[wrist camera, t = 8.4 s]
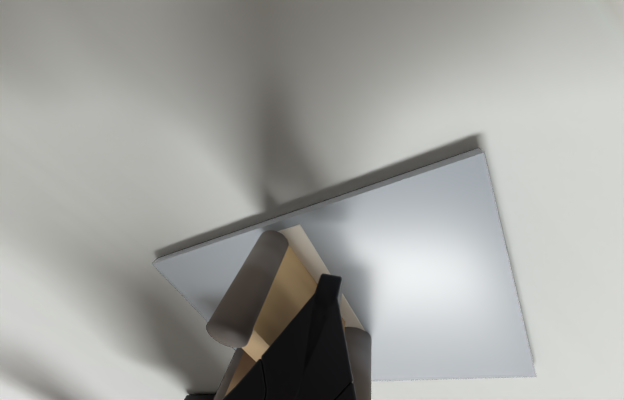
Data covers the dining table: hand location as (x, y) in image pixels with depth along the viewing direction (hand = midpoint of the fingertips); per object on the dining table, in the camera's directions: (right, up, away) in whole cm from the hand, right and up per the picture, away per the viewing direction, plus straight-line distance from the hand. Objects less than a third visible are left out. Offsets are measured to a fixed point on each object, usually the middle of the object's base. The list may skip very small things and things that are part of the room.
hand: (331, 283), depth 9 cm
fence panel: (-1, -1, +2) cm, 3 cm away
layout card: (0, -3, +4) cm, 5 cm away
